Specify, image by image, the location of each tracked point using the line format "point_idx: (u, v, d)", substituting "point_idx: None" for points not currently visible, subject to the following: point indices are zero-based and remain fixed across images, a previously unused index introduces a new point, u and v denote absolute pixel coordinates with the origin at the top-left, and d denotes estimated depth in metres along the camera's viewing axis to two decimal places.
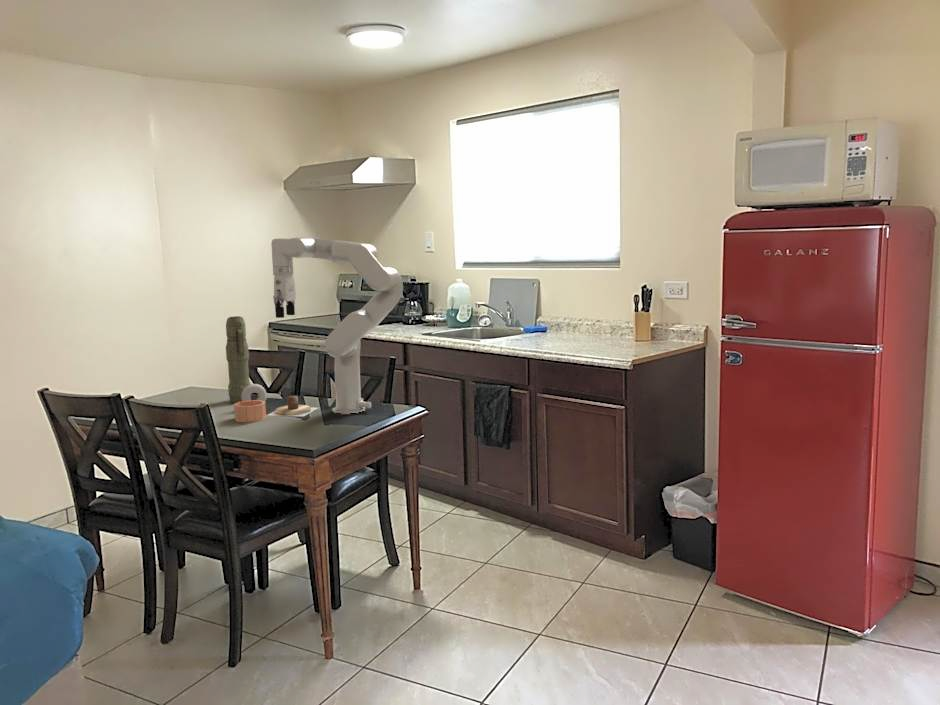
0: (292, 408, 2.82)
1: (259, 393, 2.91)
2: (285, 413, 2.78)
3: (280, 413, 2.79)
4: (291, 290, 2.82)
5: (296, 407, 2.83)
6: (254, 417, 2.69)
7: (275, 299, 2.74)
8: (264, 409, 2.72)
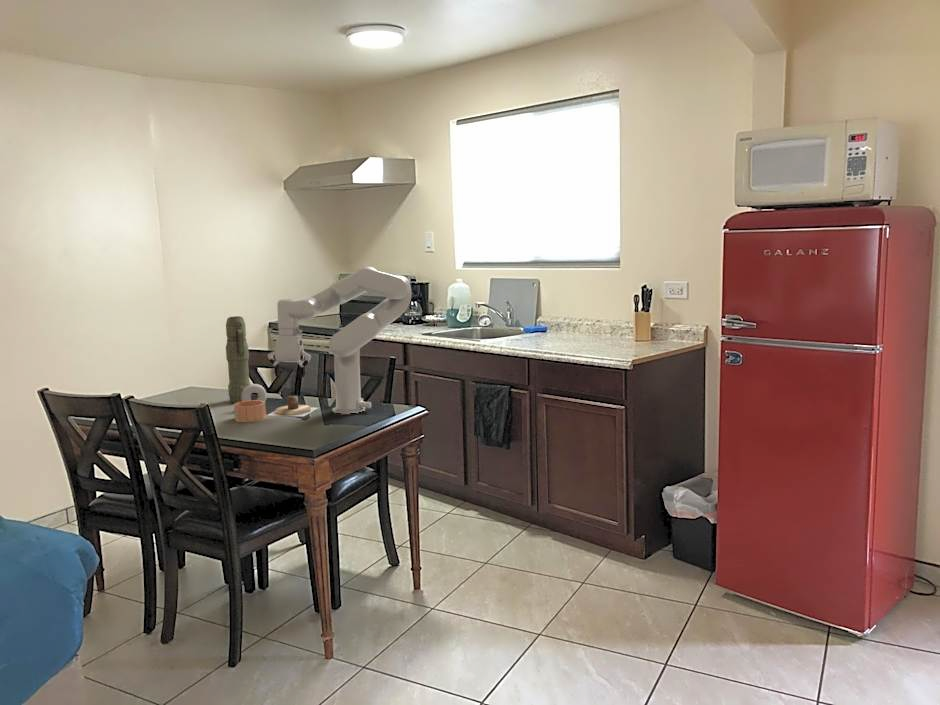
0: (292, 408, 2.82)
1: (259, 393, 2.91)
2: (285, 413, 2.78)
3: (280, 413, 2.79)
4: None
5: (296, 407, 2.83)
6: (254, 417, 2.69)
7: (309, 359, 2.80)
8: (264, 409, 2.72)
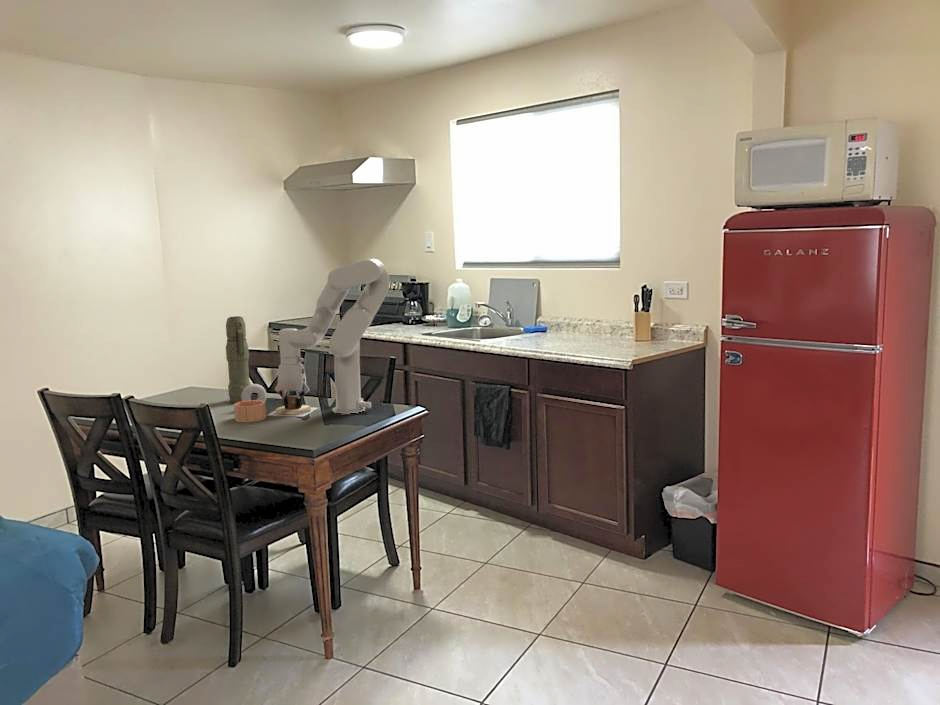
0: (292, 408, 2.82)
1: (259, 393, 2.91)
2: (285, 413, 2.78)
3: (280, 413, 2.79)
4: None
5: None
6: (254, 417, 2.69)
7: None
8: (264, 409, 2.72)
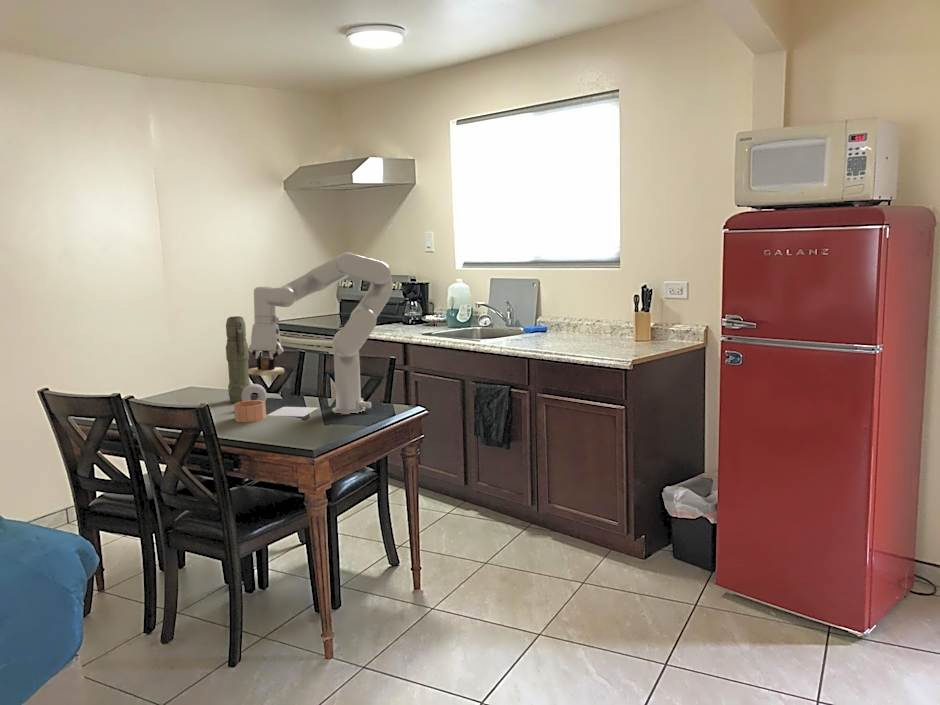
0: (265, 369, 2.74)
1: (259, 393, 2.91)
2: (257, 373, 2.70)
3: (252, 373, 2.71)
4: None
5: None
6: (254, 417, 2.69)
7: (280, 353, 2.74)
8: (264, 409, 2.72)
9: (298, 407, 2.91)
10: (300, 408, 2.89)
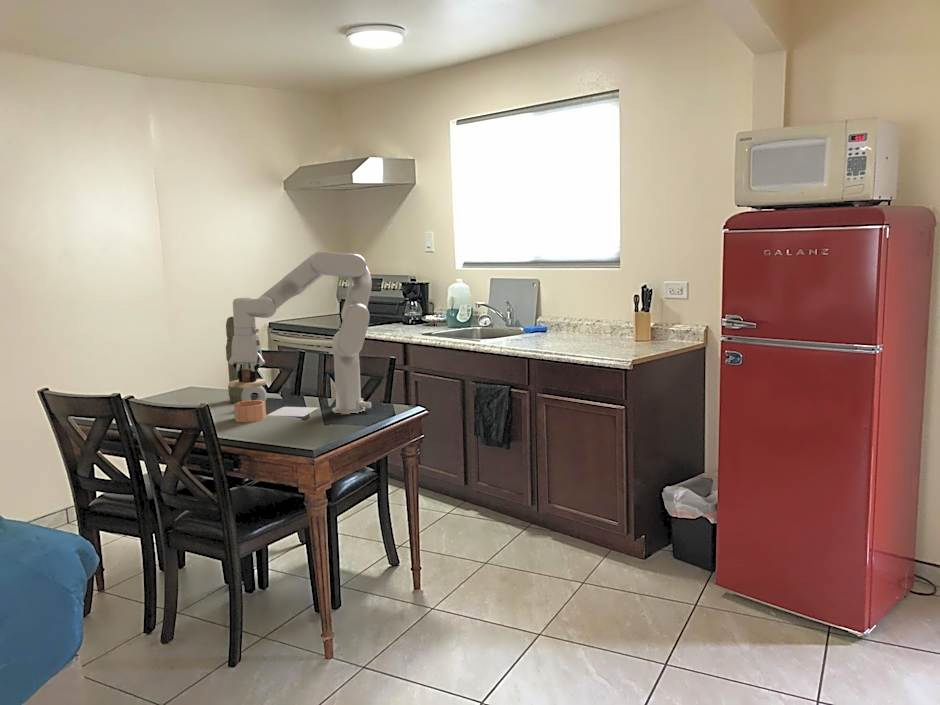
0: (246, 381, 2.70)
1: (259, 393, 2.91)
2: (238, 386, 2.65)
3: (233, 386, 2.66)
4: None
5: None
6: (254, 417, 2.69)
7: (262, 364, 2.69)
8: (264, 409, 2.72)
9: (298, 407, 2.91)
10: (300, 408, 2.89)
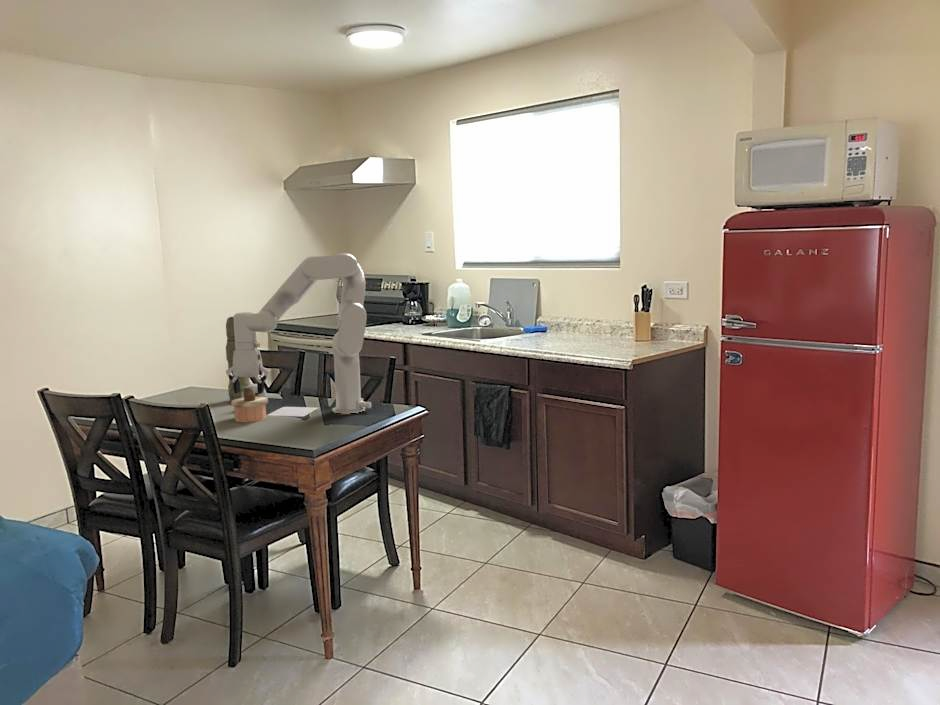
0: (248, 400, 2.71)
1: None
2: (240, 405, 2.66)
3: (235, 405, 2.67)
4: None
5: (253, 399, 2.71)
6: (254, 417, 2.69)
7: (268, 374, 2.70)
8: (264, 409, 2.72)
9: (298, 407, 2.91)
10: (300, 408, 2.89)
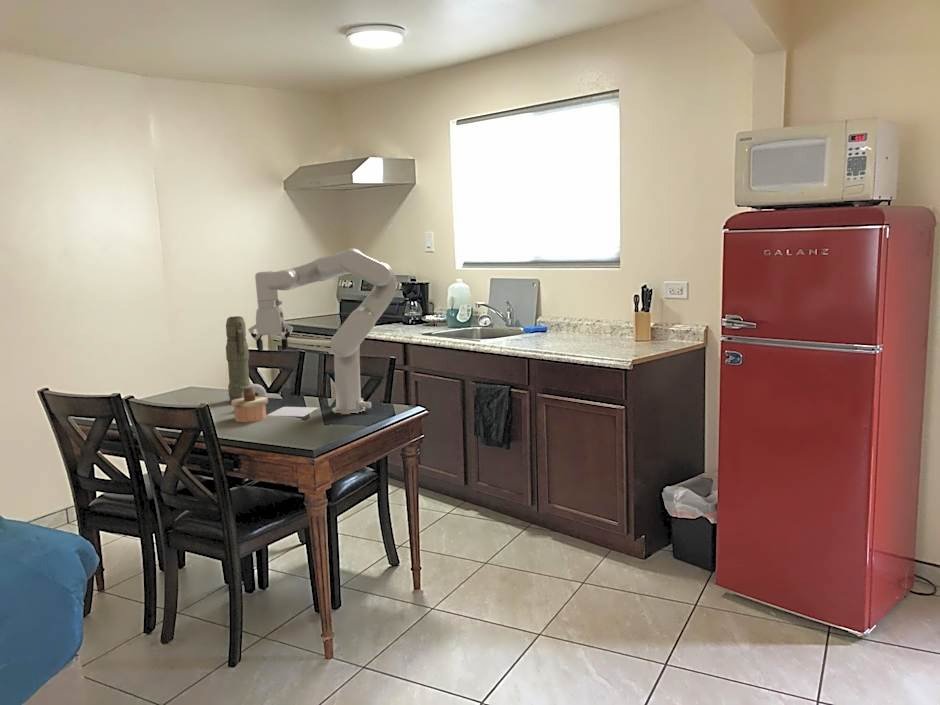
0: (248, 400, 2.71)
1: (259, 393, 2.91)
2: (240, 405, 2.66)
3: (235, 405, 2.67)
4: None
5: (253, 399, 2.71)
6: (254, 417, 2.69)
7: (291, 330, 2.77)
8: (264, 409, 2.72)
9: (298, 407, 2.91)
10: (300, 408, 2.89)
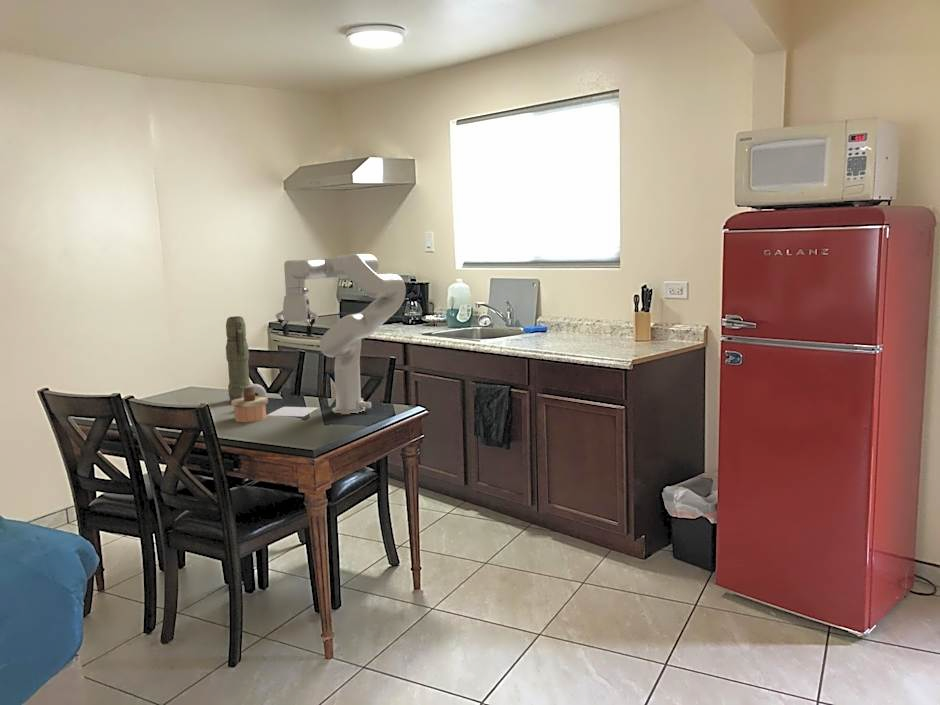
0: (248, 400, 2.71)
1: (259, 393, 2.91)
2: (240, 405, 2.66)
3: (235, 405, 2.67)
4: None
5: (253, 399, 2.71)
6: (254, 417, 2.69)
7: (316, 317, 2.87)
8: (264, 409, 2.72)
9: (298, 407, 2.91)
10: (300, 408, 2.89)
